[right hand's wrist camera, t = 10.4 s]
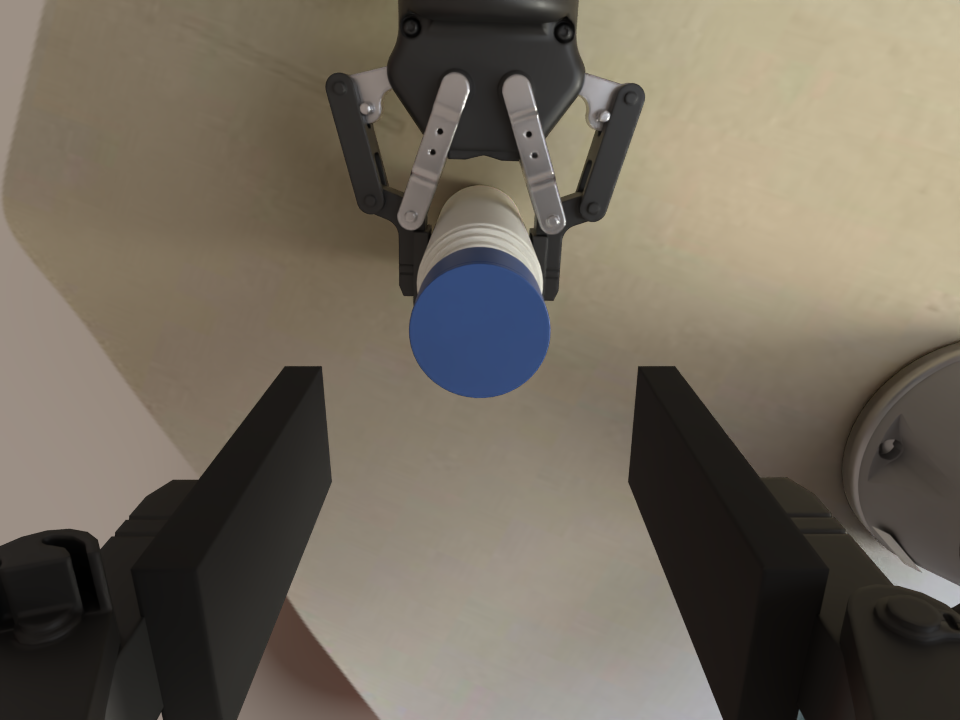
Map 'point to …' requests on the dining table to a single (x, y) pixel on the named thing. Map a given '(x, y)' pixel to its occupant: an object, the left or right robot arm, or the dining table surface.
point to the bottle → (480, 229)
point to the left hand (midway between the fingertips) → (478, 304)
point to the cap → (479, 323)
